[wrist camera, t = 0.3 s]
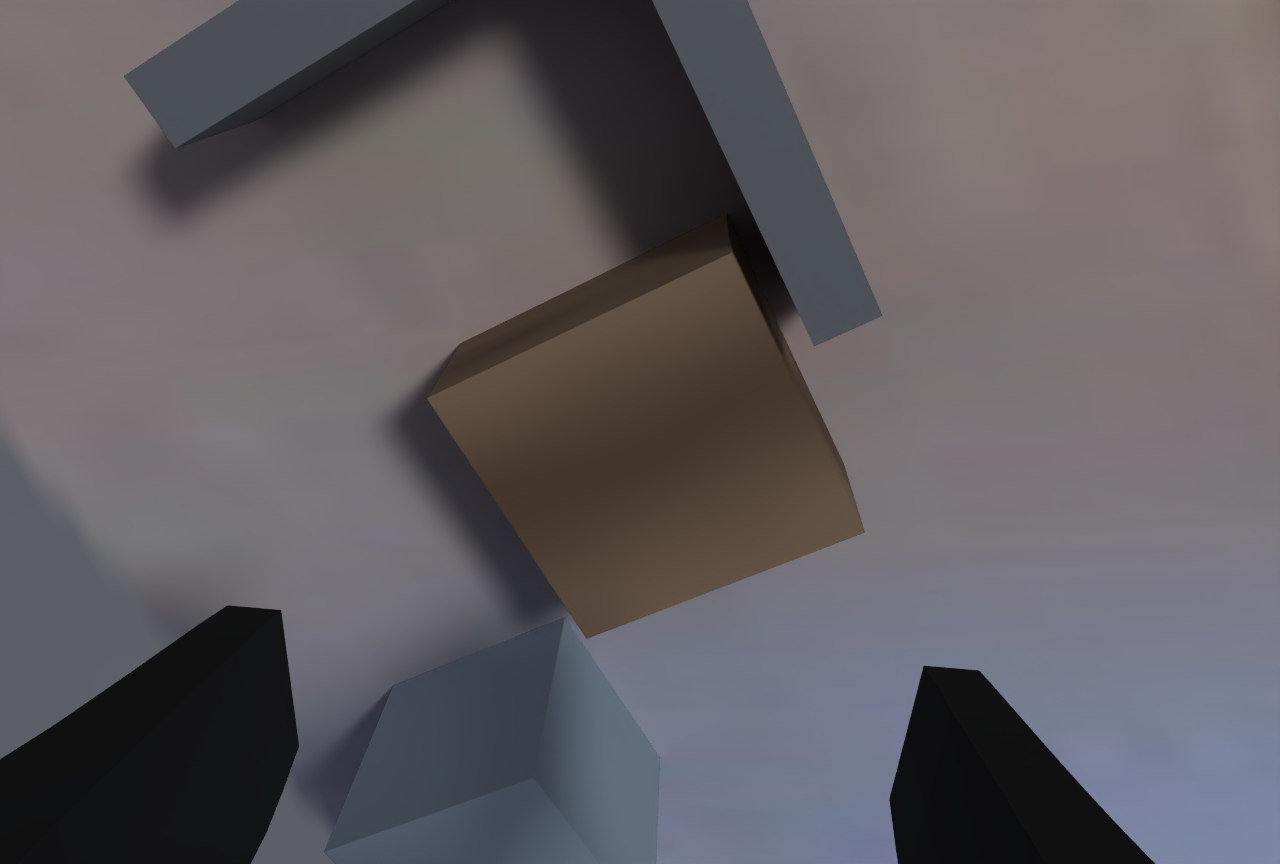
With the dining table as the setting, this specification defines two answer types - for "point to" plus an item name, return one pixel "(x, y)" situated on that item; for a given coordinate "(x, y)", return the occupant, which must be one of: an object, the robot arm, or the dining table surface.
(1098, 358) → the dining table surface
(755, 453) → the walnut block
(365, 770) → the blue-grey cube
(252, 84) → the corner jig
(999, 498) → the dining table surface
